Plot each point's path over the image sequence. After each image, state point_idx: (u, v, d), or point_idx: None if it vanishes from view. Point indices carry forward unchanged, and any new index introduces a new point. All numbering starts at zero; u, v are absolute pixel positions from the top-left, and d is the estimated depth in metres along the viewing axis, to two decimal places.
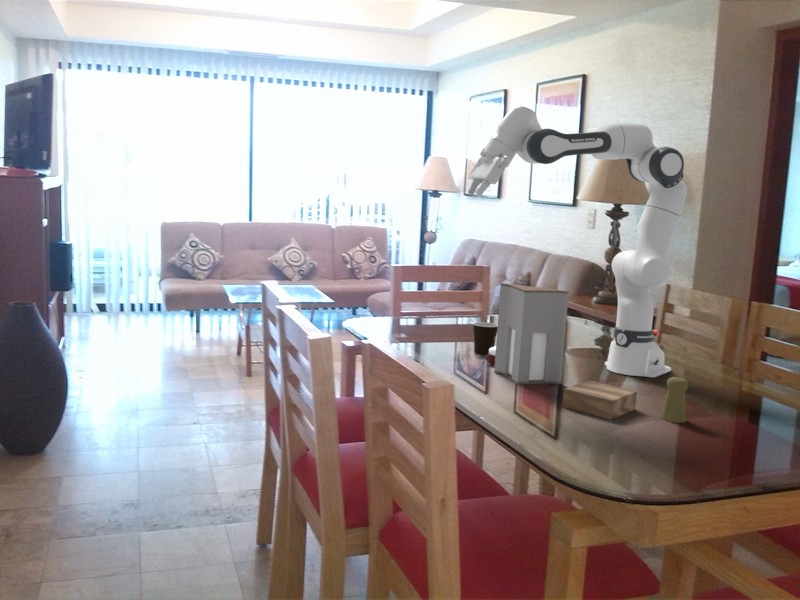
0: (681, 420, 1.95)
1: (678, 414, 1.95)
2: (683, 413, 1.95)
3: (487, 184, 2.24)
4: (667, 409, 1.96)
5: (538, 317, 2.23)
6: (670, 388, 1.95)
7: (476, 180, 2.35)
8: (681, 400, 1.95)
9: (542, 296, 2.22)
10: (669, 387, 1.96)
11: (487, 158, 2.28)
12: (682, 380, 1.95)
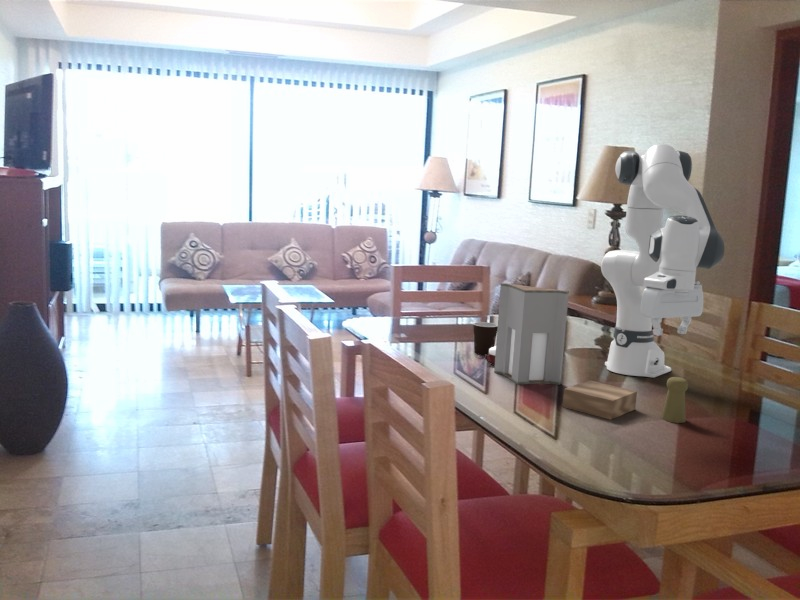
0: (681, 420, 1.95)
1: (678, 414, 1.95)
2: (683, 413, 1.95)
3: None
4: (667, 409, 1.96)
5: (538, 317, 2.23)
6: (670, 388, 1.95)
7: None
8: (681, 400, 1.95)
9: (542, 296, 2.22)
10: (669, 387, 1.96)
11: (687, 293, 1.91)
12: (682, 380, 1.95)
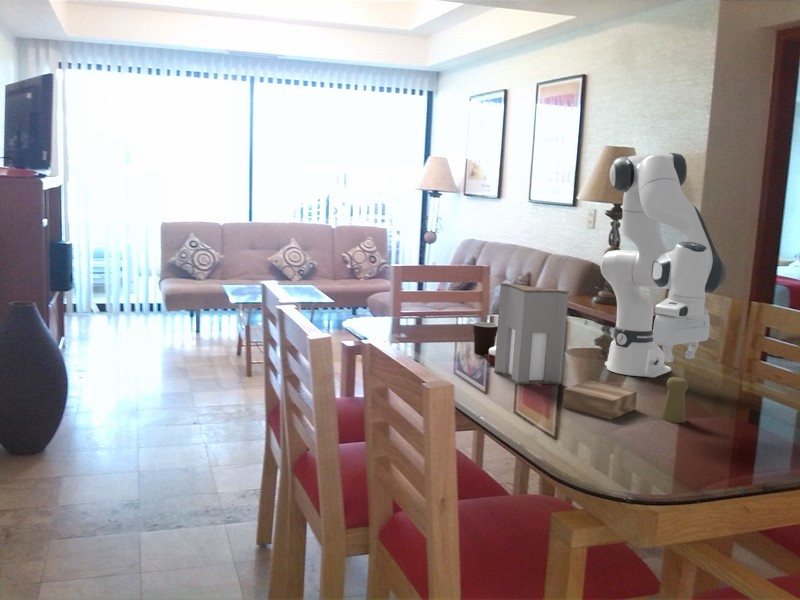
0: (681, 420, 1.95)
1: (678, 414, 1.95)
2: (683, 413, 1.95)
3: None
4: (667, 409, 1.96)
5: (538, 317, 2.23)
6: (670, 388, 1.95)
7: None
8: (681, 400, 1.95)
9: (542, 296, 2.22)
10: (669, 387, 1.96)
11: None
12: (682, 380, 1.95)
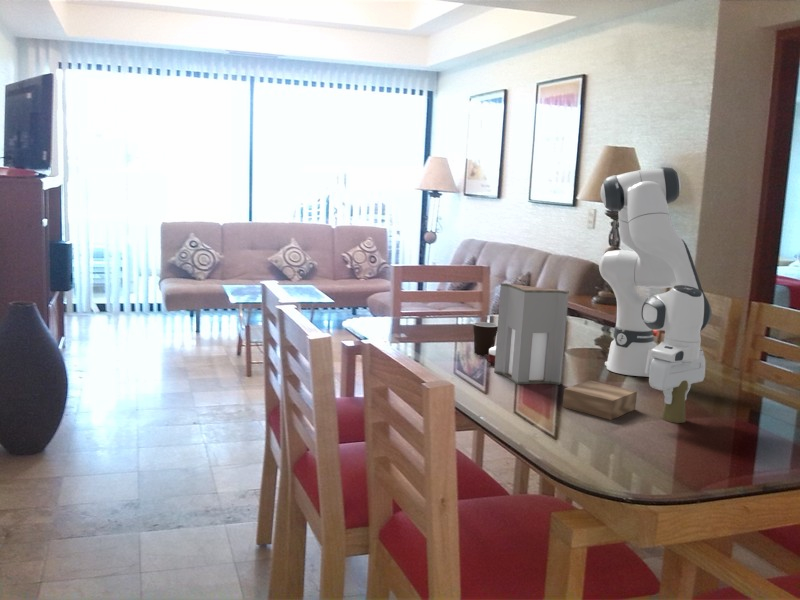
0: (681, 420, 1.95)
1: (678, 414, 1.95)
2: (683, 413, 1.95)
3: None
4: (667, 409, 1.96)
5: (538, 317, 2.23)
6: None
7: None
8: (681, 400, 1.95)
9: (542, 296, 2.22)
10: None
11: (692, 362, 1.95)
12: None
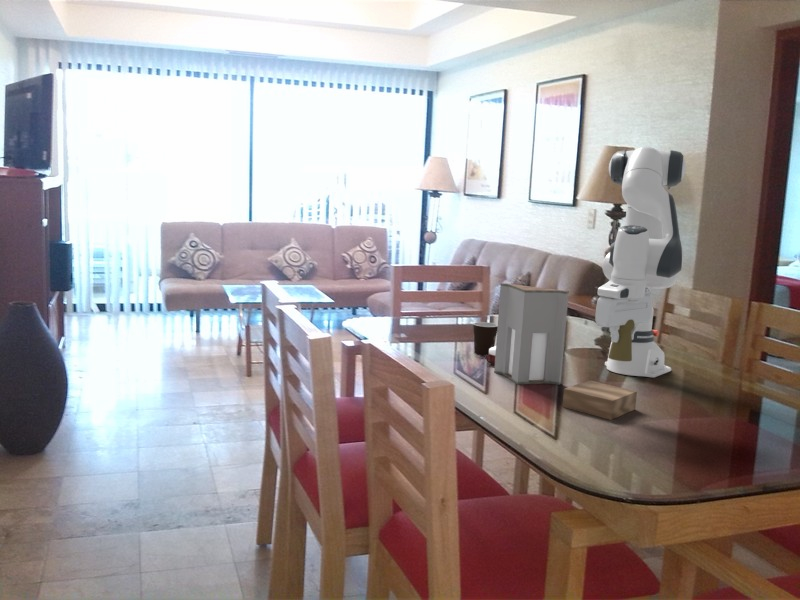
0: (627, 359, 1.98)
1: (625, 352, 1.98)
2: (629, 352, 1.98)
3: None
4: (614, 348, 1.99)
5: (538, 317, 2.23)
6: None
7: None
8: (628, 339, 1.98)
9: (542, 296, 2.22)
10: None
11: (638, 300, 1.97)
12: None
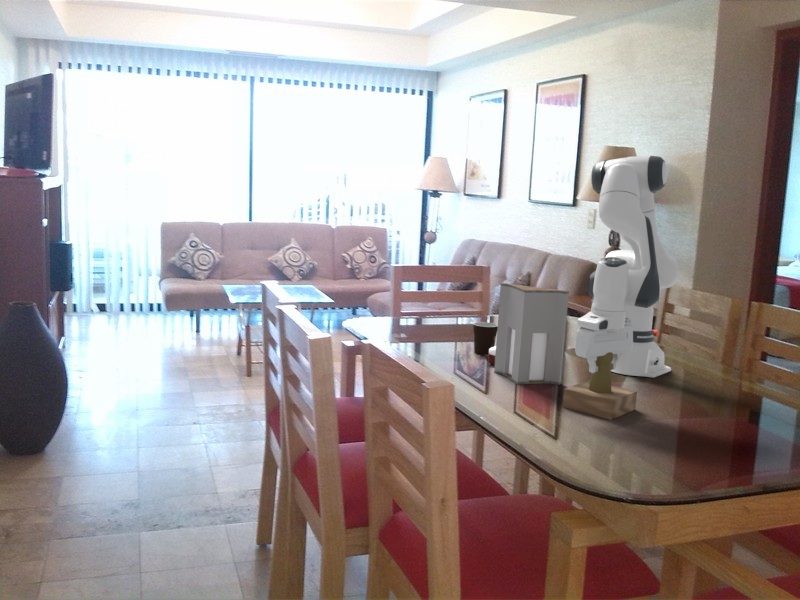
0: (607, 391, 2.01)
1: (604, 385, 2.00)
2: (608, 384, 2.01)
3: None
4: (593, 380, 2.02)
5: (538, 317, 2.23)
6: None
7: None
8: (607, 371, 2.00)
9: (542, 296, 2.22)
10: None
11: (618, 331, 2.00)
12: None
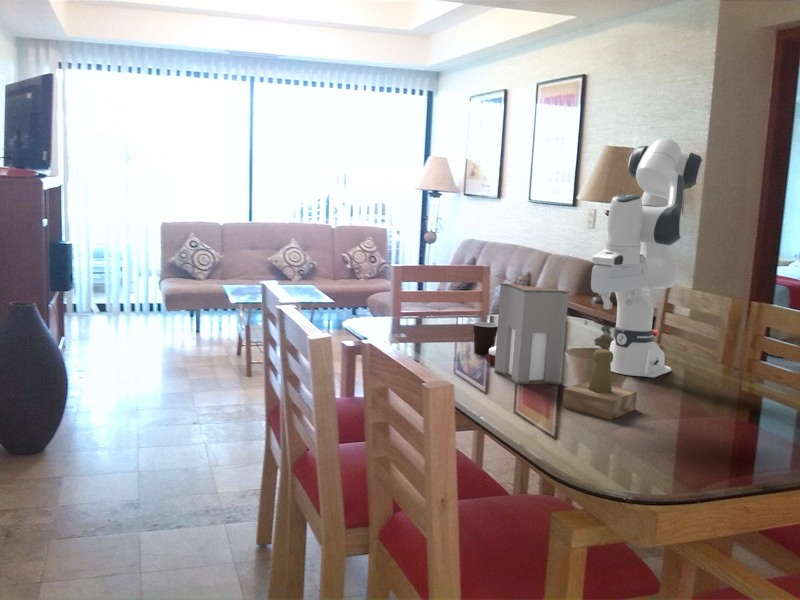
0: (607, 391, 2.01)
1: (604, 385, 2.00)
2: (608, 384, 2.01)
3: None
4: (593, 380, 2.02)
5: (538, 317, 2.23)
6: (596, 359, 2.01)
7: None
8: (607, 371, 2.00)
9: (542, 296, 2.22)
10: (595, 358, 2.01)
11: (633, 267, 2.02)
12: (607, 352, 2.00)
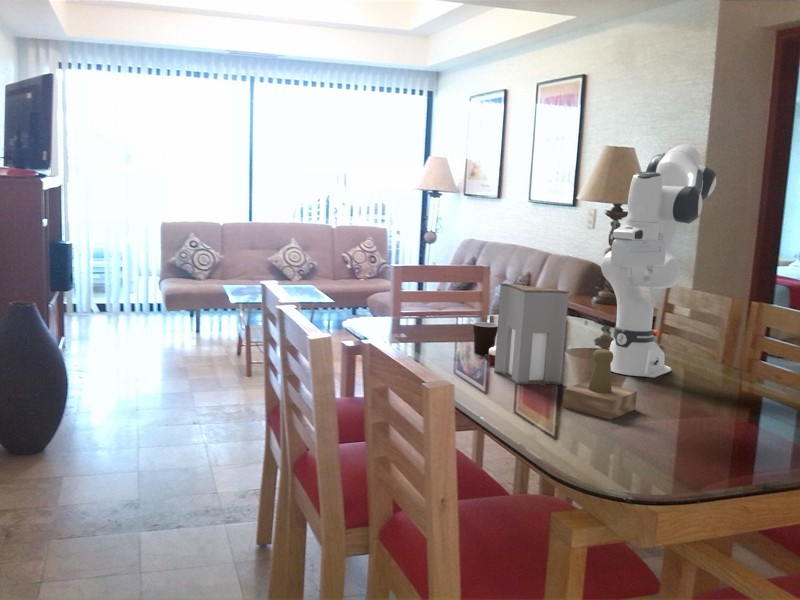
0: (607, 391, 2.01)
1: (604, 385, 2.00)
2: (608, 384, 2.01)
3: None
4: (593, 380, 2.02)
5: (538, 317, 2.23)
6: (596, 359, 2.01)
7: None
8: (607, 371, 2.00)
9: (542, 296, 2.22)
10: (595, 358, 2.01)
11: (652, 243, 2.06)
12: (607, 352, 2.00)
